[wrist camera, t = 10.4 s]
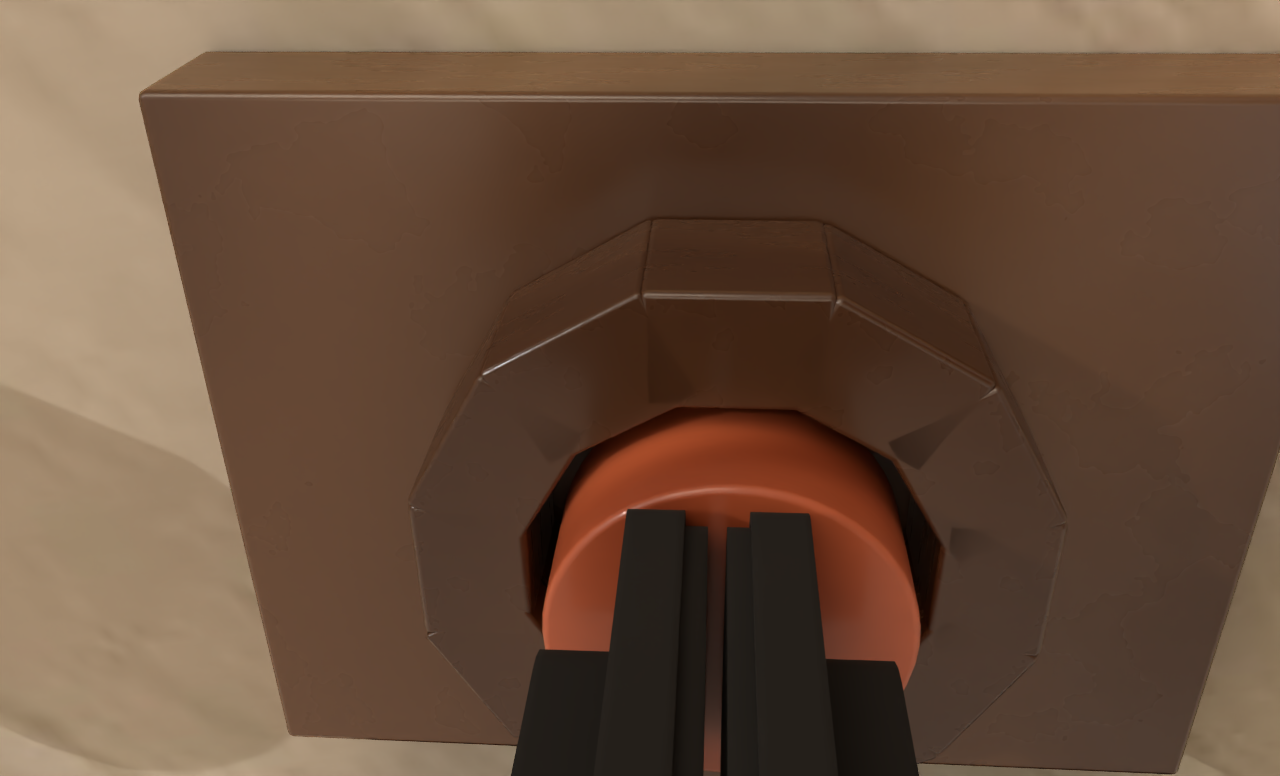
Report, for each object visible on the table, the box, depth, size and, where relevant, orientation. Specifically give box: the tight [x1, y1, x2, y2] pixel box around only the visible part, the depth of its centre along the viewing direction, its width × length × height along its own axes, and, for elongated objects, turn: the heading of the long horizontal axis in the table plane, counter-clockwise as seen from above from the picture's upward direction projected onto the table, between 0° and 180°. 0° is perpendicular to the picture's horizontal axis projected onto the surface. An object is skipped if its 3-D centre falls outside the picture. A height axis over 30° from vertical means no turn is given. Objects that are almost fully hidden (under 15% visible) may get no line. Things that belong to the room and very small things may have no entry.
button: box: [542, 407, 921, 772], centre depth 12 cm, size 4×4×2 cm
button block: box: [139, 52, 1280, 776], centre depth 13 cm, size 12×9×4 cm
